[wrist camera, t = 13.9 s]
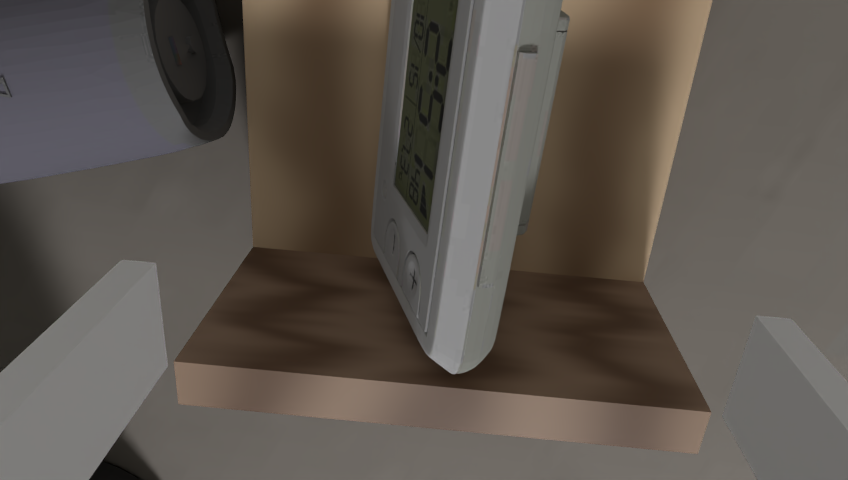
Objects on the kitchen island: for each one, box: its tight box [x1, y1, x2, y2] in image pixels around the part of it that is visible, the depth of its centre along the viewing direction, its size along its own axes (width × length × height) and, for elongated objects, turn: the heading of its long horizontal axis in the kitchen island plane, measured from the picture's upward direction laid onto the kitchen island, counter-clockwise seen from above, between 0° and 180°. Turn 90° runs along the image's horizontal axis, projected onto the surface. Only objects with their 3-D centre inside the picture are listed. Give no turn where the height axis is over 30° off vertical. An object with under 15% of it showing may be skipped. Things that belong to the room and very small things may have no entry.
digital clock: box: [371, 0, 570, 374], centre depth 25 cm, size 16×9×11 cm, turn 162°
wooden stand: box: [174, 0, 712, 454], centre depth 27 cm, size 20×21×14 cm
